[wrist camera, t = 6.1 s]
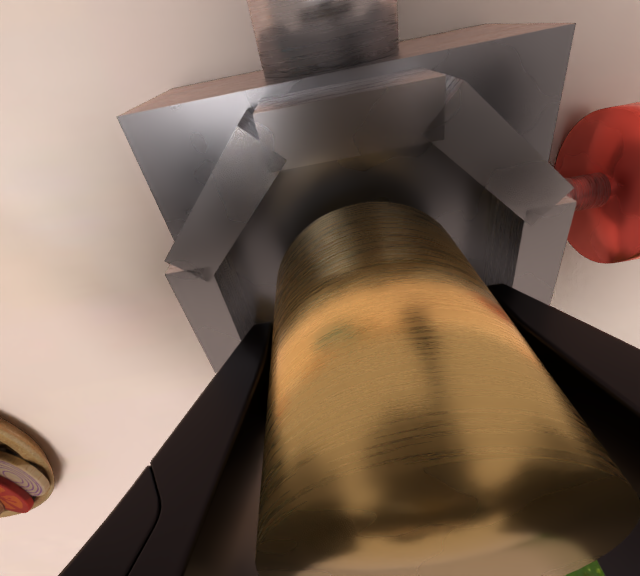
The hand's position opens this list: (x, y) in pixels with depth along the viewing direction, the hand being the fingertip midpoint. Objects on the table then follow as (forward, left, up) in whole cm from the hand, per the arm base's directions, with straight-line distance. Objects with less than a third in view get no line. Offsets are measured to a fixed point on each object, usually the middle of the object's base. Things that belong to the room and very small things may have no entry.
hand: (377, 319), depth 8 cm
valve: (-2, 0, -6) cm, 7 cm away
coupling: (0, 0, -1) cm, 1 cm away
